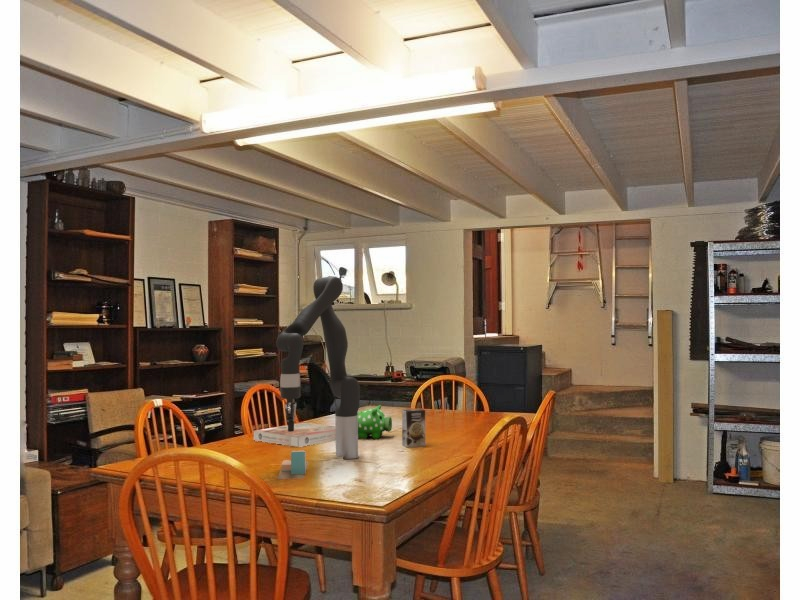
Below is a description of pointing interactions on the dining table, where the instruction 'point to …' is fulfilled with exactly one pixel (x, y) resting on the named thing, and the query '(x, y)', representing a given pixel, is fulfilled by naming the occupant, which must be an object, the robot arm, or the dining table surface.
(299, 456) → the tile
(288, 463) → the tile
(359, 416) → the piggy bank
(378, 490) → the dining table surface
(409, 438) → the coffee box
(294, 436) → the pizza box
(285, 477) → the board
